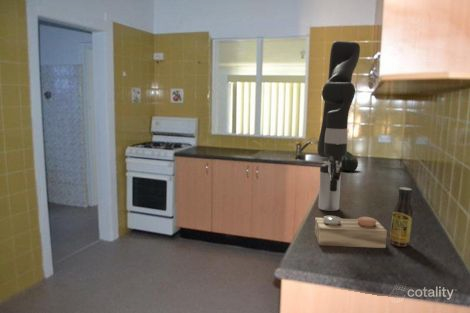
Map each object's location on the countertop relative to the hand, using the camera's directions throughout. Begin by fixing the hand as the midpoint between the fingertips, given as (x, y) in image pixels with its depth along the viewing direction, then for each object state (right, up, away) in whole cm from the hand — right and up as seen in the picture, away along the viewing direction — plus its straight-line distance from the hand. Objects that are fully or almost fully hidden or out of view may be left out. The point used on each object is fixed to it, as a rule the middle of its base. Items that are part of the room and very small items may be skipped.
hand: (333, 190), depth 130 cm
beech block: (+6, -18, +2) cm, 19 cm away
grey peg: (0, -18, +2) cm, 18 cm away
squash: (+48, +1, +145) cm, 152 cm away
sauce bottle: (+23, -19, -1) cm, 29 cm away
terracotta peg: (+12, -18, +1) cm, 21 cm away
